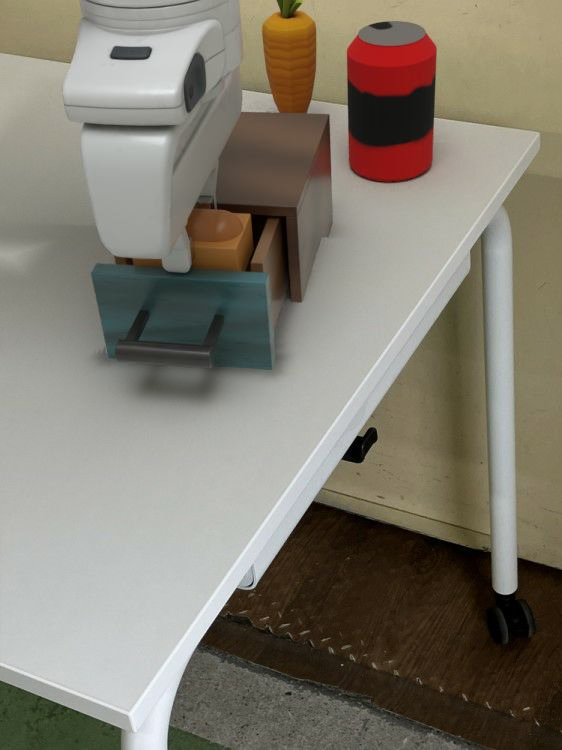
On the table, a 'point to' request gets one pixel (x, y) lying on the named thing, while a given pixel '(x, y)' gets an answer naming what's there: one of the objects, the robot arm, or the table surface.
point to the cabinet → (281, 180)
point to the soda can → (391, 101)
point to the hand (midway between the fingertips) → (191, 242)
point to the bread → (216, 240)
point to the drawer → (197, 307)
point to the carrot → (290, 56)
